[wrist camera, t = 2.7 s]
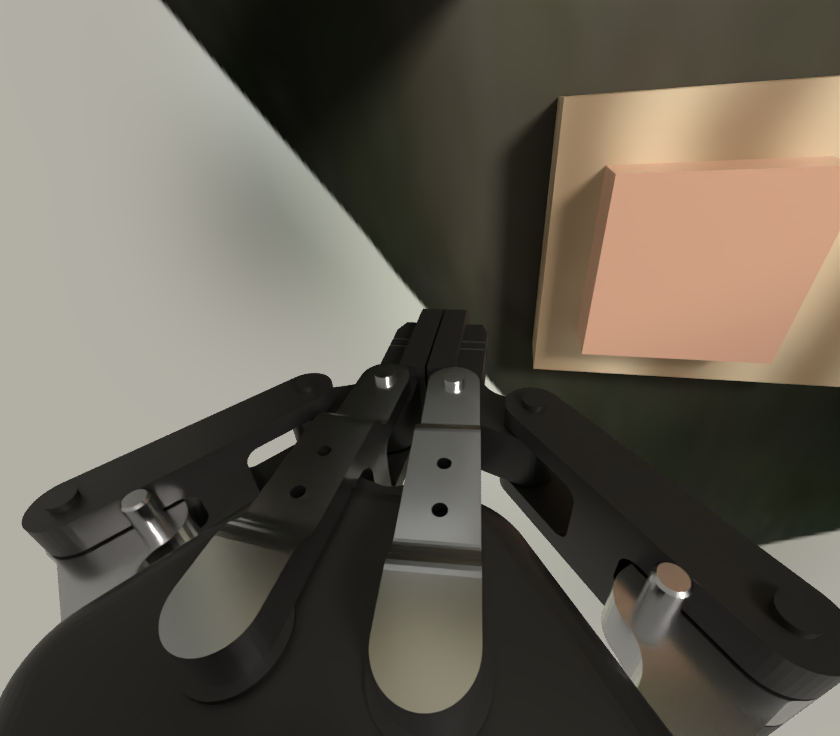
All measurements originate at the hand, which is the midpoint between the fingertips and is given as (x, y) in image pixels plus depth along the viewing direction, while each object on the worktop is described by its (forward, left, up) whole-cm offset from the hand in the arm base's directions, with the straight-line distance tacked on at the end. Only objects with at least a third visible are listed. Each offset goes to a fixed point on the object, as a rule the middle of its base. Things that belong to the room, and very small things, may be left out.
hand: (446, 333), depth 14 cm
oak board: (-11, 0, -11) cm, 16 cm away
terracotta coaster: (-10, 0, -7) cm, 12 cm away
